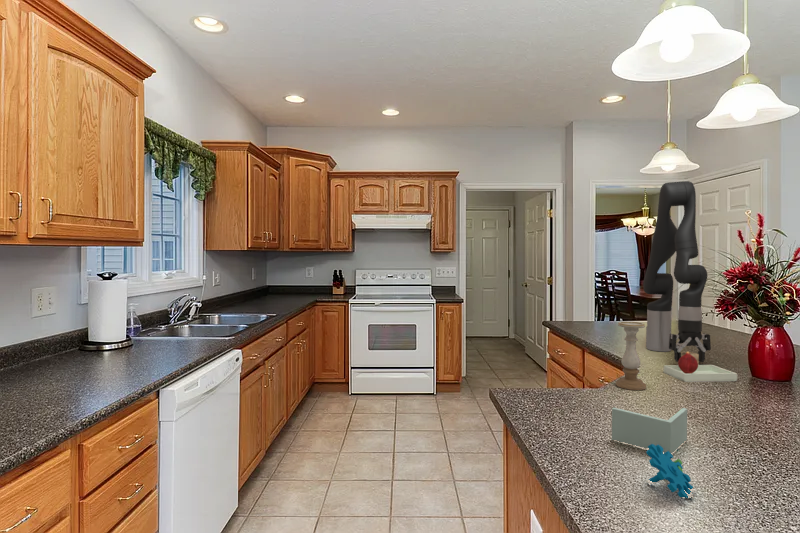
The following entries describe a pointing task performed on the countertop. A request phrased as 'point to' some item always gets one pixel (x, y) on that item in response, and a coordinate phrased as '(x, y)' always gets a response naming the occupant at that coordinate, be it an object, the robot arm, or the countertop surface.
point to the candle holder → (631, 358)
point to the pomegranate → (688, 363)
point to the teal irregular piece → (669, 470)
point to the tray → (701, 374)
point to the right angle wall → (649, 429)
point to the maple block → (692, 355)
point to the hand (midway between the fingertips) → (689, 361)
